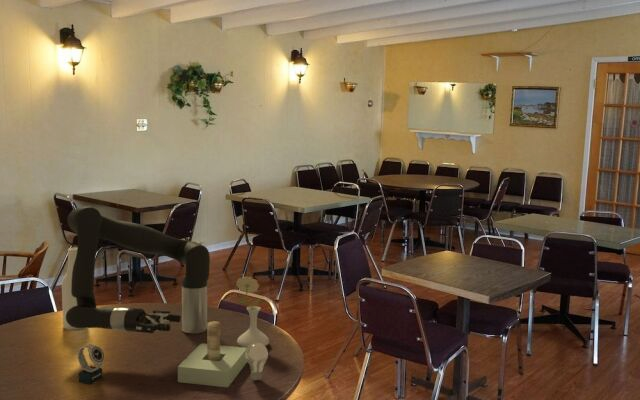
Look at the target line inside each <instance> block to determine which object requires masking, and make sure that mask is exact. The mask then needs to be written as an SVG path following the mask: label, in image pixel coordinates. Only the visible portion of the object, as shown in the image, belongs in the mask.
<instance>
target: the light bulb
mask: <svg viewBox="0 0 640 400" xmlns="http://www.w3.org/2000/svg"><path fill="white" fill-rule="evenodd" d="M268 358H269V351H268V348H267V346H264V345H263V344H261V343H254V344H251V345H250V346H249V347H248V348H247V350H246V360H247V363H248V364H249V368H250V373H251V374H250V378H251V379H252V380H253V381H255V382H258V381H260V380H261V379H262V377H263V369H264V365H265V364H266V362H267V360H268Z"/></svg>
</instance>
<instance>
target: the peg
mask: <svg viewBox="0 0 640 400" xmlns="http://www.w3.org/2000/svg"><path fill="white" fill-rule="evenodd" d="M206 332H207V335H206V338H207V340H206V341H207V343H206V344H207V360H212V361H220V345H221V323H220V322H219V321H215V320H213V321H209V322H208V321H207V330H206Z"/></svg>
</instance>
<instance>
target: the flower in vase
mask: <svg viewBox="0 0 640 400" xmlns="http://www.w3.org/2000/svg"><path fill="white" fill-rule="evenodd" d="M235 285H236V287H237V289H239V290H240V291H242V292H245V298H243V297H239V298H238V299H236V301H235V302H236V303H241V304H246V303H248V304H249V306H247V307H246V310H247V312H248V314H249V320H250V321H249V323H250V324H249V328H248V329H247V330H246V331H244V332H243V333H242V334H240V335H239V336H238V338H237V340H236V344H238V347H243V348H248V347H249V346H250V345H251V344H254V343H261V344H263V345H264V346H265V347H267V346H268V345H269V343H270V339H269V337H268V336H267V335H266V334H265V333H264V332H262V331H261V330H260V329H258V325H257V323H258V322H257V321H258V315H259V312H260V311H261V309H262V308H261V307H260V306H258V305H257V304H258V303H259V302H260V301H261V299H262V298H259V299H256V300H253V301H252V302H251V303H250V302H249V300H248V293H249V294H250V293H254V292H258V289H259V288H260V285H259V283H258V281H257V280H256V279H255V278H253V277H252V276H248V275H247V276H242V277H239V278H238V279H237V281H236V283H235ZM254 305H255V306H254Z"/></svg>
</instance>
